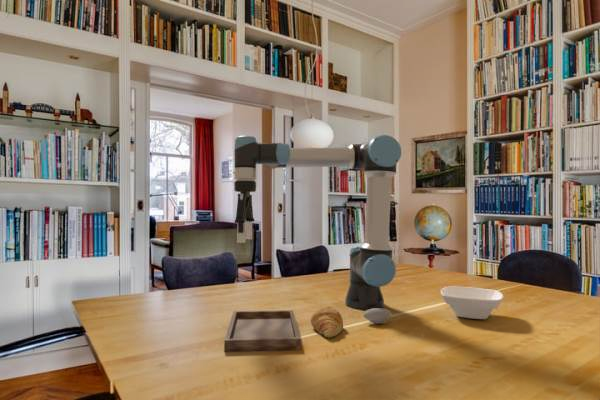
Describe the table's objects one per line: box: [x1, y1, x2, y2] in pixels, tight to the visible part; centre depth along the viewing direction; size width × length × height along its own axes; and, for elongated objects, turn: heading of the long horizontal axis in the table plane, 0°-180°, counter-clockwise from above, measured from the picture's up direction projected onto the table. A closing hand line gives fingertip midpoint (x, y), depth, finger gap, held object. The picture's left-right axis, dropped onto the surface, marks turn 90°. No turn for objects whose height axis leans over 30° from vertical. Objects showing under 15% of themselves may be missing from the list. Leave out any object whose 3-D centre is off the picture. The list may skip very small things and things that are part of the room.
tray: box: [223, 309, 302, 353], centre depth 120 cm, size 20×29×3 cm
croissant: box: [310, 306, 344, 339], centre depth 125 cm, size 21×10×8 cm, turn 1°
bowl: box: [440, 285, 504, 320], centre depth 141 cm, size 21×21×9 cm
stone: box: [362, 307, 392, 325], centre depth 132 cm, size 10×5×5 cm, turn 100°
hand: (245, 240), depth 139 cm, fingers open, 13 cm apart
